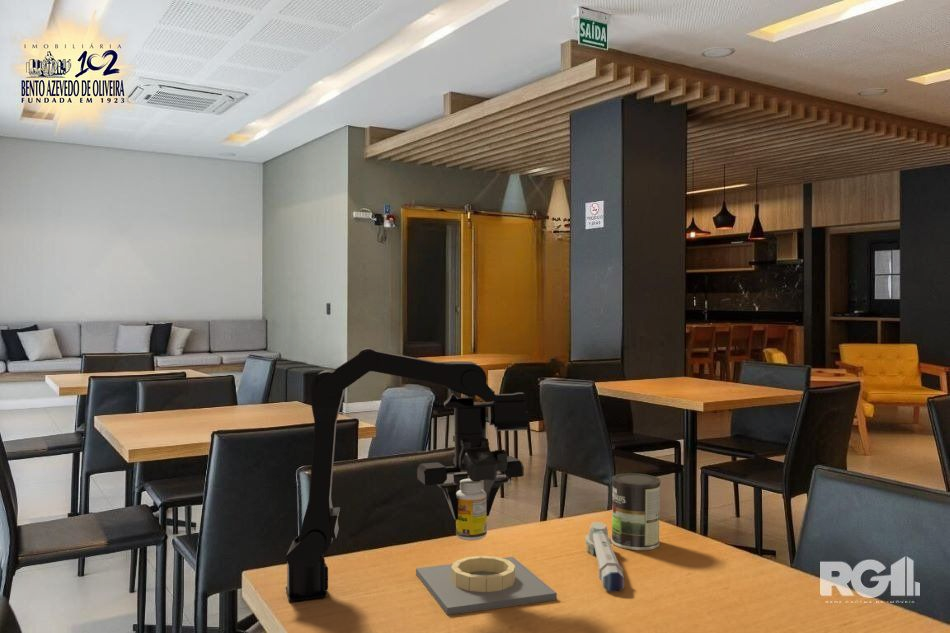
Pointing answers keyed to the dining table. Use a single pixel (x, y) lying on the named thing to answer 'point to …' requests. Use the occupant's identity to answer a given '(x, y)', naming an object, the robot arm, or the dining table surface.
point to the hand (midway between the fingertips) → (471, 517)
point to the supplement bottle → (471, 511)
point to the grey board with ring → (483, 584)
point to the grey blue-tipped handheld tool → (605, 557)
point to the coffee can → (635, 511)
